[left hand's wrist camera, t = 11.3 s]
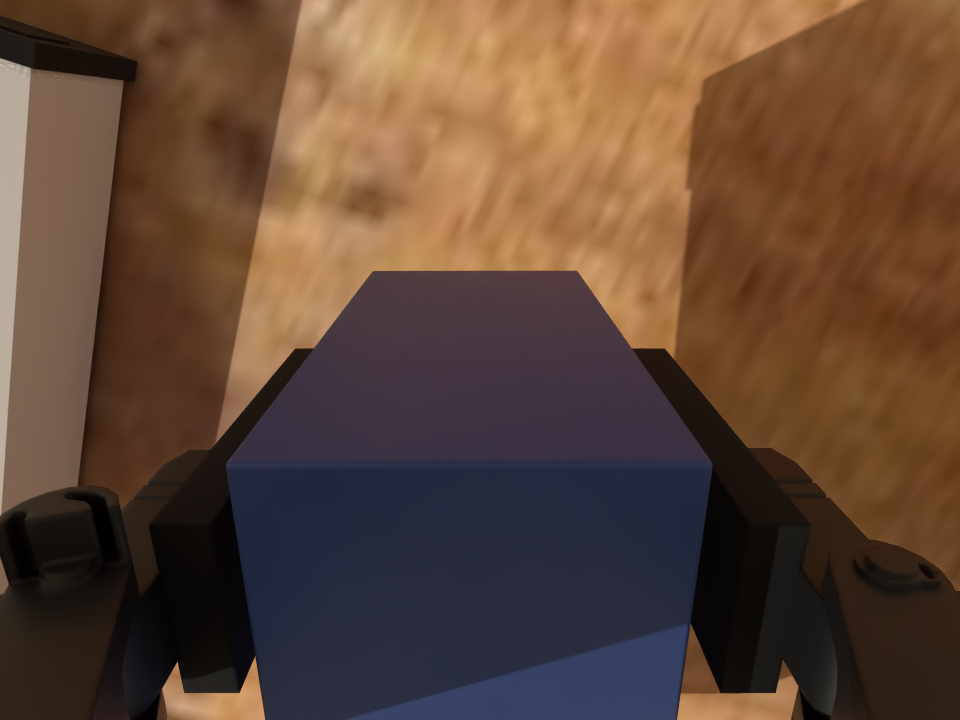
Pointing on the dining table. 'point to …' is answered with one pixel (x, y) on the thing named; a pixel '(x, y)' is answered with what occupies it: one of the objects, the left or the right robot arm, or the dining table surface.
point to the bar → (470, 512)
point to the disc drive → (51, 247)
